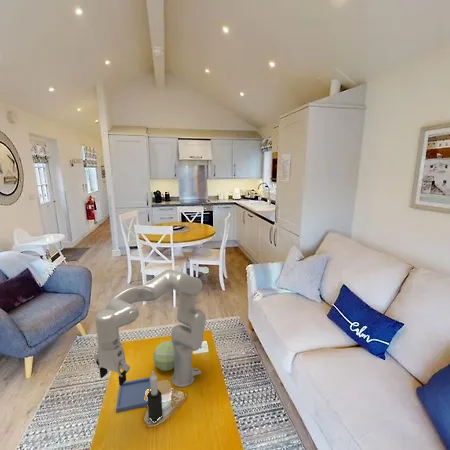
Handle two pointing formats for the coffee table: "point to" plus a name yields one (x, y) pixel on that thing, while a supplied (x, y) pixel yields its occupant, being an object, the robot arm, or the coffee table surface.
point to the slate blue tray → (132, 394)
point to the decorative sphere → (164, 356)
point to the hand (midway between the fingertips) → (113, 379)
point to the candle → (154, 399)
